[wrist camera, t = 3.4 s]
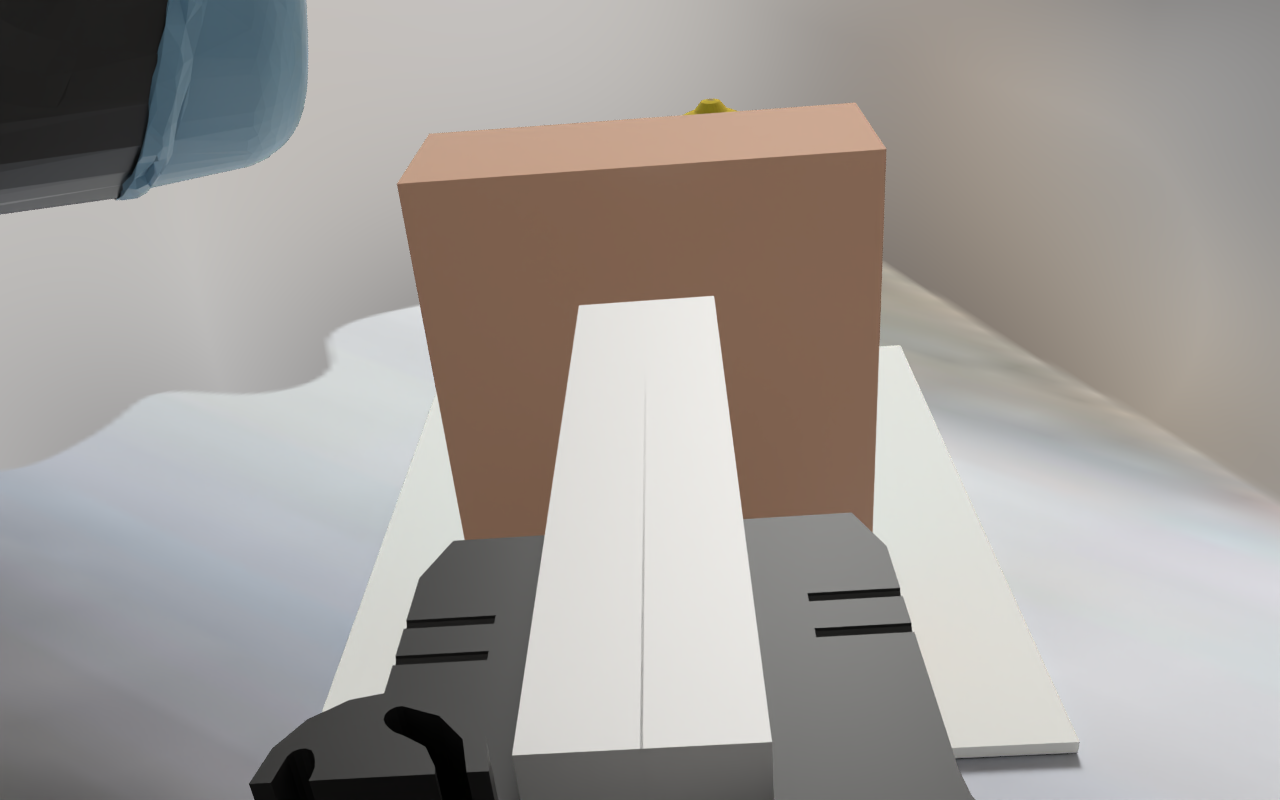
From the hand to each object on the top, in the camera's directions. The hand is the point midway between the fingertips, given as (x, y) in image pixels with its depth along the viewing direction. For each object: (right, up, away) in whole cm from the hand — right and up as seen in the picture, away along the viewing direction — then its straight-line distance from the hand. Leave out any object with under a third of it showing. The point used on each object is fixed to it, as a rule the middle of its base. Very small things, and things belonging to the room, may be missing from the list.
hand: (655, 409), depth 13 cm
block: (+1, -6, +12) cm, 14 cm away
